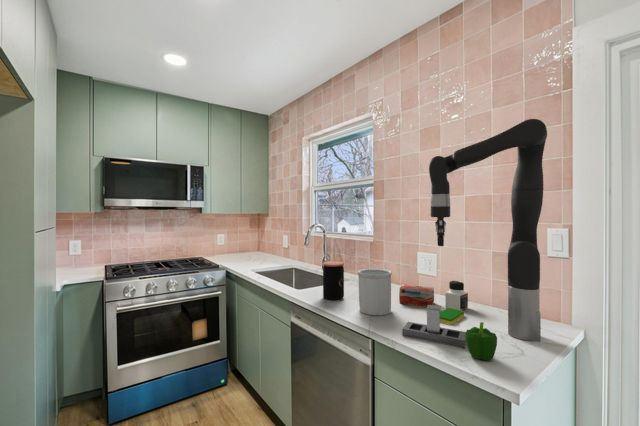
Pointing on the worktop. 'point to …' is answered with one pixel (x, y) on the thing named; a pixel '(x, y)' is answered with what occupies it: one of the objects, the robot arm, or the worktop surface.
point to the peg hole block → (445, 335)
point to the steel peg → (433, 319)
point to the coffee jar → (333, 280)
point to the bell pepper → (481, 343)
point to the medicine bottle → (456, 296)
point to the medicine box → (416, 295)
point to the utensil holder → (375, 291)
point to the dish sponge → (450, 316)
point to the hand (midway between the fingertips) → (440, 245)
